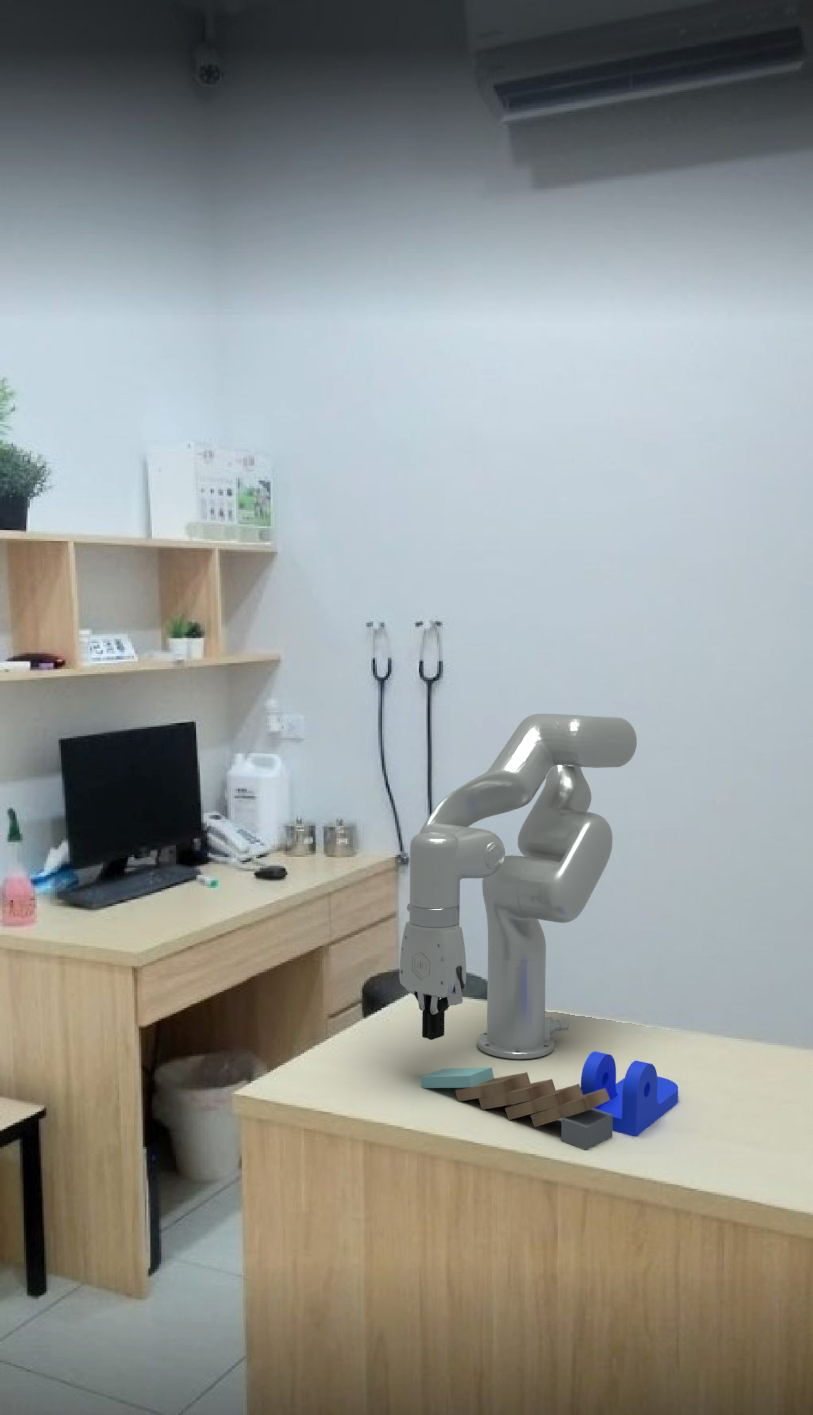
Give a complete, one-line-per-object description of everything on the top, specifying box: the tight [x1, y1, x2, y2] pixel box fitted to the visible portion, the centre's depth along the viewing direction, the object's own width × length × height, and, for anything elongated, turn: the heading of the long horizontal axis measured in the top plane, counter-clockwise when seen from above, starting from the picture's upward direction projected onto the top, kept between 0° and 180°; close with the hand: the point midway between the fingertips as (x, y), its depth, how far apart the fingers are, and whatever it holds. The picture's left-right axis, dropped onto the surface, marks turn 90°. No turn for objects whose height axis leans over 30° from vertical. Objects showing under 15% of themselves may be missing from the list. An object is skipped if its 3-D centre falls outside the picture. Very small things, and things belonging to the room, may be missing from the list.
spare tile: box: [420, 1066, 495, 1089], centre depth 169 cm, size 5×2×10 cm
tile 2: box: [454, 1071, 531, 1102], centre depth 164 cm, size 5×2×10 cm
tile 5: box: [529, 1088, 610, 1128], centre depth 154 cm, size 5×2×10 cm
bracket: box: [580, 1051, 679, 1138], centre depth 163 cm, size 18×8×9 cm, turn 145°
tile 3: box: [478, 1078, 557, 1111], centre depth 161 cm, size 5×2×10 cm
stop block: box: [560, 1108, 614, 1151], centre depth 152 cm, size 6×4×3 cm, turn 136°
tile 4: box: [504, 1083, 583, 1121], centre depth 157 cm, size 5×2×10 cm
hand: (433, 1036), depth 172 cm, fingers closed
